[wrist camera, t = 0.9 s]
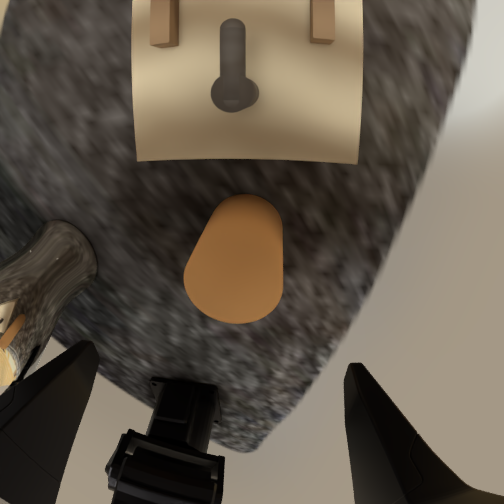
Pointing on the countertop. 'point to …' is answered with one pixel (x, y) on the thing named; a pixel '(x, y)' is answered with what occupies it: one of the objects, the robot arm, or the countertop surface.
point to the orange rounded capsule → (238, 261)
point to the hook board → (274, 61)
